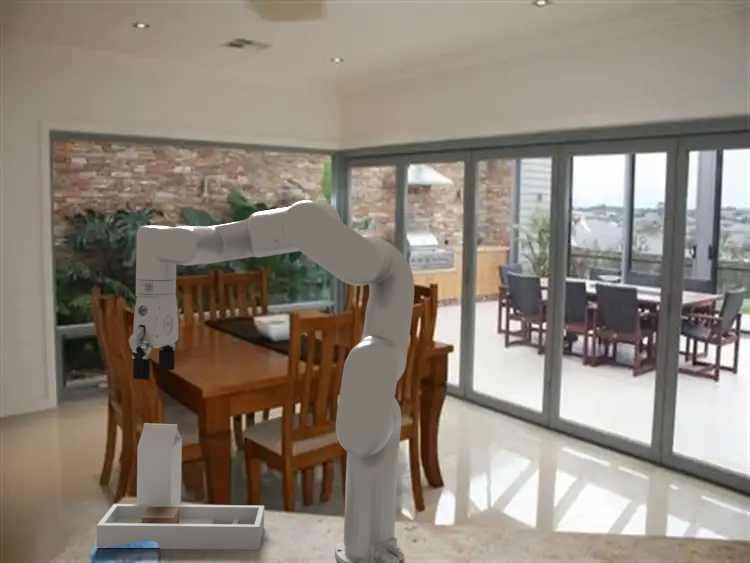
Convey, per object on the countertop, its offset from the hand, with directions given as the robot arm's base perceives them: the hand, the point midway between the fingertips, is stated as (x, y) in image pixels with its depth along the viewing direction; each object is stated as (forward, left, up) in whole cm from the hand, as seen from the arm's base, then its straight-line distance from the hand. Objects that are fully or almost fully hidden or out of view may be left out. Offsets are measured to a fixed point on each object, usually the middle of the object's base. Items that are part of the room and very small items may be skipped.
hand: (154, 374), depth 137 cm
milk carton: (+6, -4, -31) cm, 32 cm away
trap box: (-9, -3, -31) cm, 32 cm away
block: (-6, 0, -29) cm, 30 cm away
